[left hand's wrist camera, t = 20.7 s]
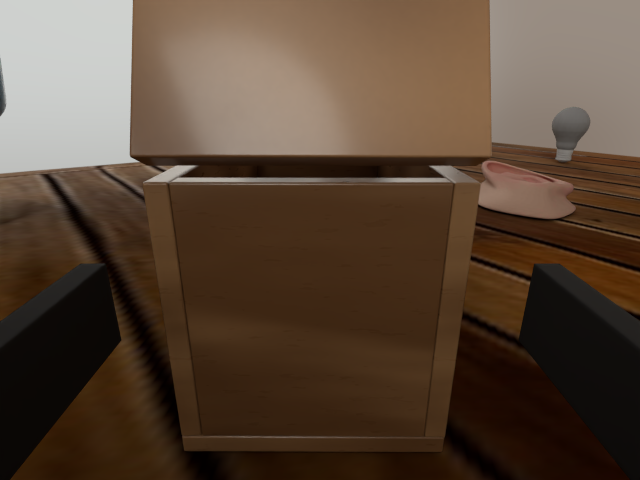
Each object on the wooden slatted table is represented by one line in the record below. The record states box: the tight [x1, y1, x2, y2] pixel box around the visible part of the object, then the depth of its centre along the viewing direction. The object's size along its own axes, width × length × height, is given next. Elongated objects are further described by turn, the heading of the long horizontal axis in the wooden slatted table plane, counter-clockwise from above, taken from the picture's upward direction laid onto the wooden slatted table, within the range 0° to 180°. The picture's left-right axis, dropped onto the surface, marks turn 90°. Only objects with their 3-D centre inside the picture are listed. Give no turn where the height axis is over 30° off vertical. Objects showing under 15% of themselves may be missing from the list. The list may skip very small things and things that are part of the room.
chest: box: [143, 166, 481, 452], centre depth 21 cm, size 17×10×10 cm, turn 0°
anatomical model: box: [478, 161, 576, 219], centre depth 48 cm, size 13×4×12 cm
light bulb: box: [552, 107, 590, 162], centre depth 75 cm, size 6×6×10 cm
